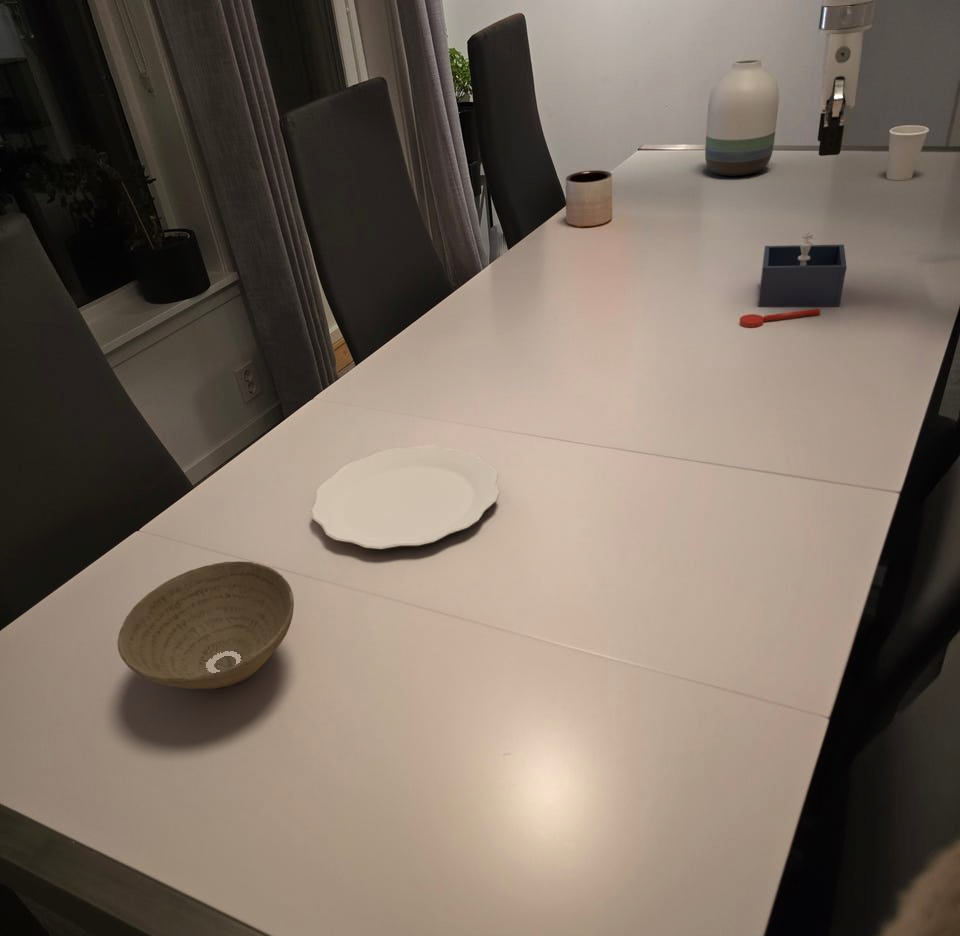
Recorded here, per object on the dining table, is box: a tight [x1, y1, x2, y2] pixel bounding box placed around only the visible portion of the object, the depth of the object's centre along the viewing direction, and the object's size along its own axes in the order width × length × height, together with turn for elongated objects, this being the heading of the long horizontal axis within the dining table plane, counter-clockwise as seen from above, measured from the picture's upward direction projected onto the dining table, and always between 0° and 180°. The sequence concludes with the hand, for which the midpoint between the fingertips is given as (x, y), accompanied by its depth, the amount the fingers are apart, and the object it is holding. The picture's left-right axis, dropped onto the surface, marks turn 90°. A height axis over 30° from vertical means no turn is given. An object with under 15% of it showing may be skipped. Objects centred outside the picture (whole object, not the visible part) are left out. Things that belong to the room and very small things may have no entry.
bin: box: [758, 244, 847, 308], centre depth 150 cm, size 14×12×7 cm
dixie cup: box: [885, 124, 930, 181], centre depth 196 cm, size 8×8×10 cm
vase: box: [704, 58, 780, 177], centre depth 210 cm, size 17×17×24 cm
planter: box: [565, 169, 613, 228], centre depth 195 cm, size 11×11×10 cm
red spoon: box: [739, 308, 821, 329], centre depth 145 cm, size 14×4×1 cm, turn 94°
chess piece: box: [798, 230, 813, 266], centre depth 149 cm, size 5×5×10 cm
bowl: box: [117, 560, 295, 690], centre depth 88 cm, size 18×18×8 cm
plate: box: [310, 444, 500, 551], centre depth 112 cm, size 25×25×2 cm
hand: (828, 147), depth 136 cm, fingers open, 9 cm apart
